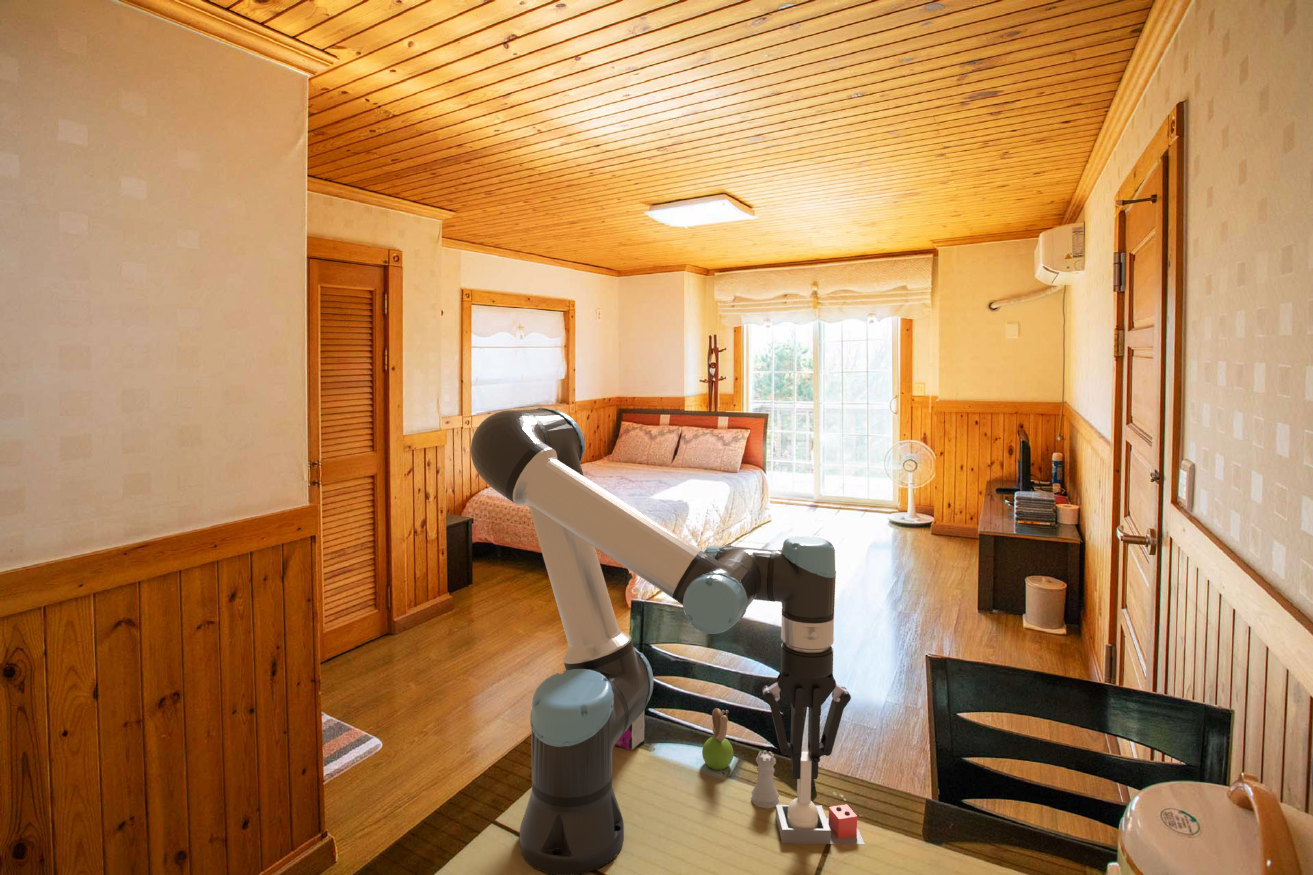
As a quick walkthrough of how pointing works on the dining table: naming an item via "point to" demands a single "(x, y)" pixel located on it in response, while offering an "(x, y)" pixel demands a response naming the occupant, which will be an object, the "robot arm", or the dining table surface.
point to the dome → (802, 815)
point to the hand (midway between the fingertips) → (803, 797)
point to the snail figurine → (718, 743)
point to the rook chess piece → (765, 782)
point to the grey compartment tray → (822, 827)
